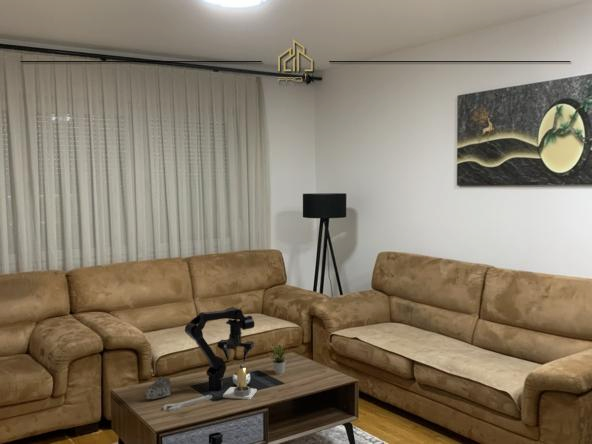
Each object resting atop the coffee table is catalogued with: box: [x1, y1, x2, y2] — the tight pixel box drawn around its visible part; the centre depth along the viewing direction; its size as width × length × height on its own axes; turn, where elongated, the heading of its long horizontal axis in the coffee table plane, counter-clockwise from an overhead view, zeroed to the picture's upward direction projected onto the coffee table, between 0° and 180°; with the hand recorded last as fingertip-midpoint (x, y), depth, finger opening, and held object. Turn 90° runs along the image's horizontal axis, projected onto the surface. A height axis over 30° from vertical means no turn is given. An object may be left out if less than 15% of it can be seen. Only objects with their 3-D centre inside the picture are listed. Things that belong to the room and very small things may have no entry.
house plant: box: [268, 342, 289, 375], centre depth 318 cm, size 14×14×16 cm
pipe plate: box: [222, 385, 258, 400], centre depth 285 cm, size 14×11×4 cm
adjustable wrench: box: [162, 394, 213, 412], centre depth 274 cm, size 25×6×2 cm, turn 124°
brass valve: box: [236, 364, 248, 391], centre depth 283 cm, size 4×4×14 cm
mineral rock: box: [144, 376, 172, 400], centre depth 283 cm, size 13×11×10 cm
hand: (236, 360), depth 301 cm, fingers open, 9 cm apart
